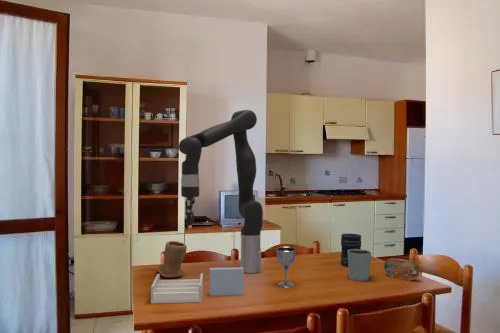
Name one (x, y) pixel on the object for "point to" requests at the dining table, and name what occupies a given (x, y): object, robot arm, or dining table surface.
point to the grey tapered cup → (359, 264)
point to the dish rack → (176, 290)
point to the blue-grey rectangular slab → (226, 281)
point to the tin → (401, 269)
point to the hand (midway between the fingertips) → (190, 223)
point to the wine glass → (286, 262)
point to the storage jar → (349, 246)
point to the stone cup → (173, 259)
